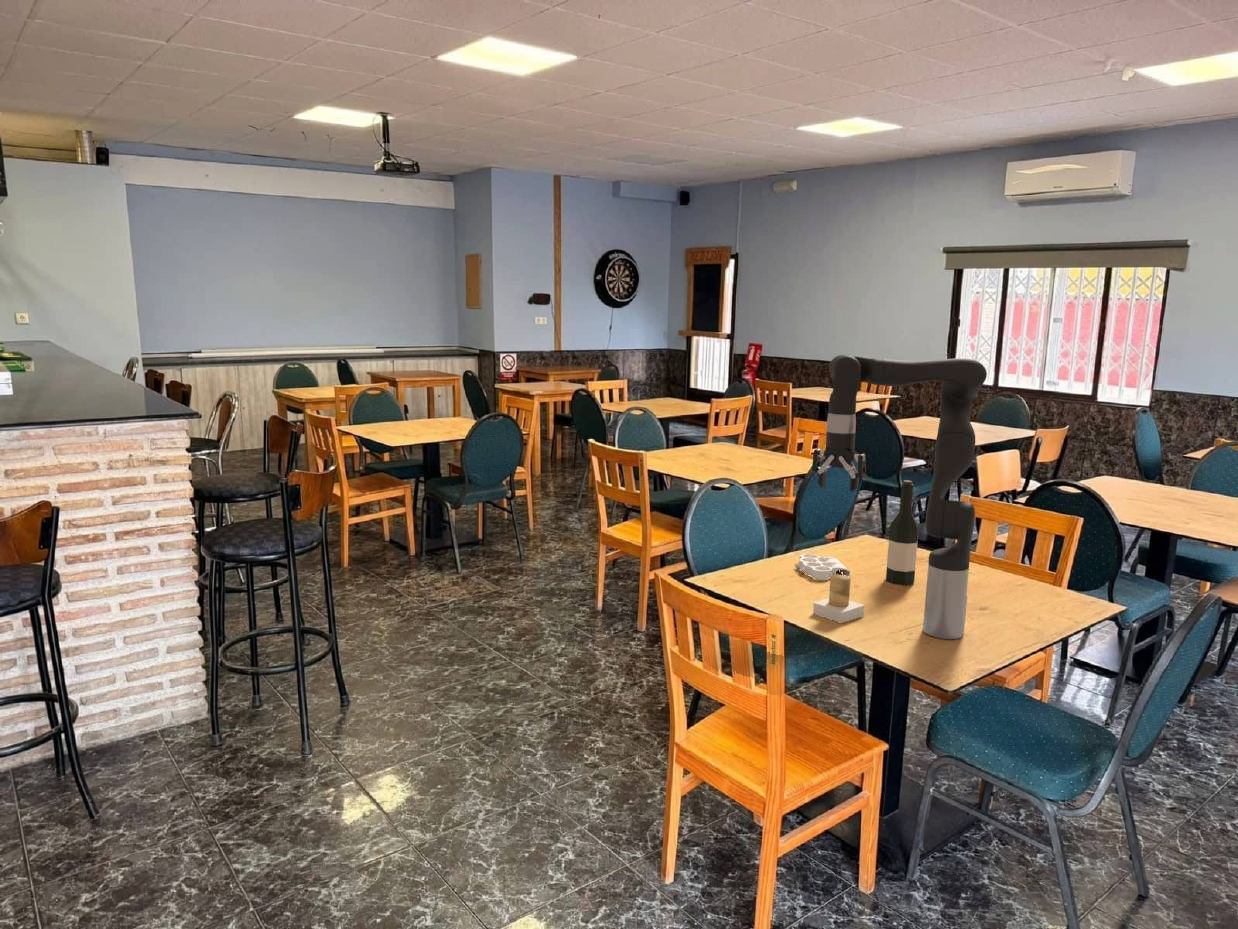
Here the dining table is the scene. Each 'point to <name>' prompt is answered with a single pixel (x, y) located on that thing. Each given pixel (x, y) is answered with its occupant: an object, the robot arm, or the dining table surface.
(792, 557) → the dining table surface
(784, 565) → the dining table surface
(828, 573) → the white holed flat part
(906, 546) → the wine bottle
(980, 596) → the dining table surface
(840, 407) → the robot arm
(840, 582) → the ochre cylinder
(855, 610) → the white base
